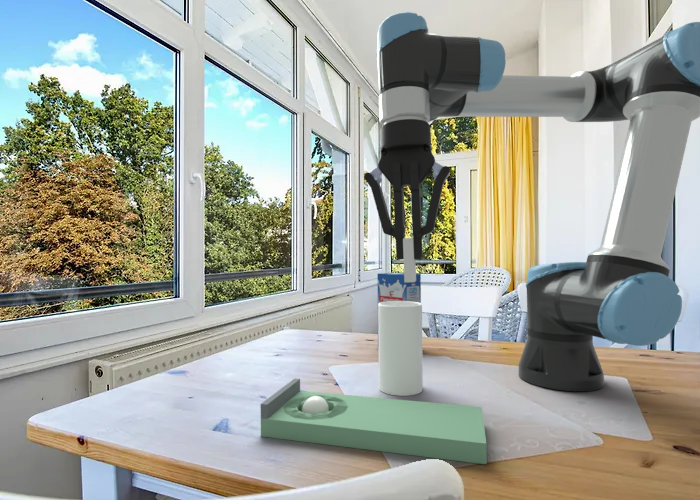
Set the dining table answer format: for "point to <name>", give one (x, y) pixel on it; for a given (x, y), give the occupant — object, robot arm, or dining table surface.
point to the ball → (315, 405)
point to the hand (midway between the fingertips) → (410, 281)
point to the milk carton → (398, 288)
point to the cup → (400, 347)
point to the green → (378, 424)
